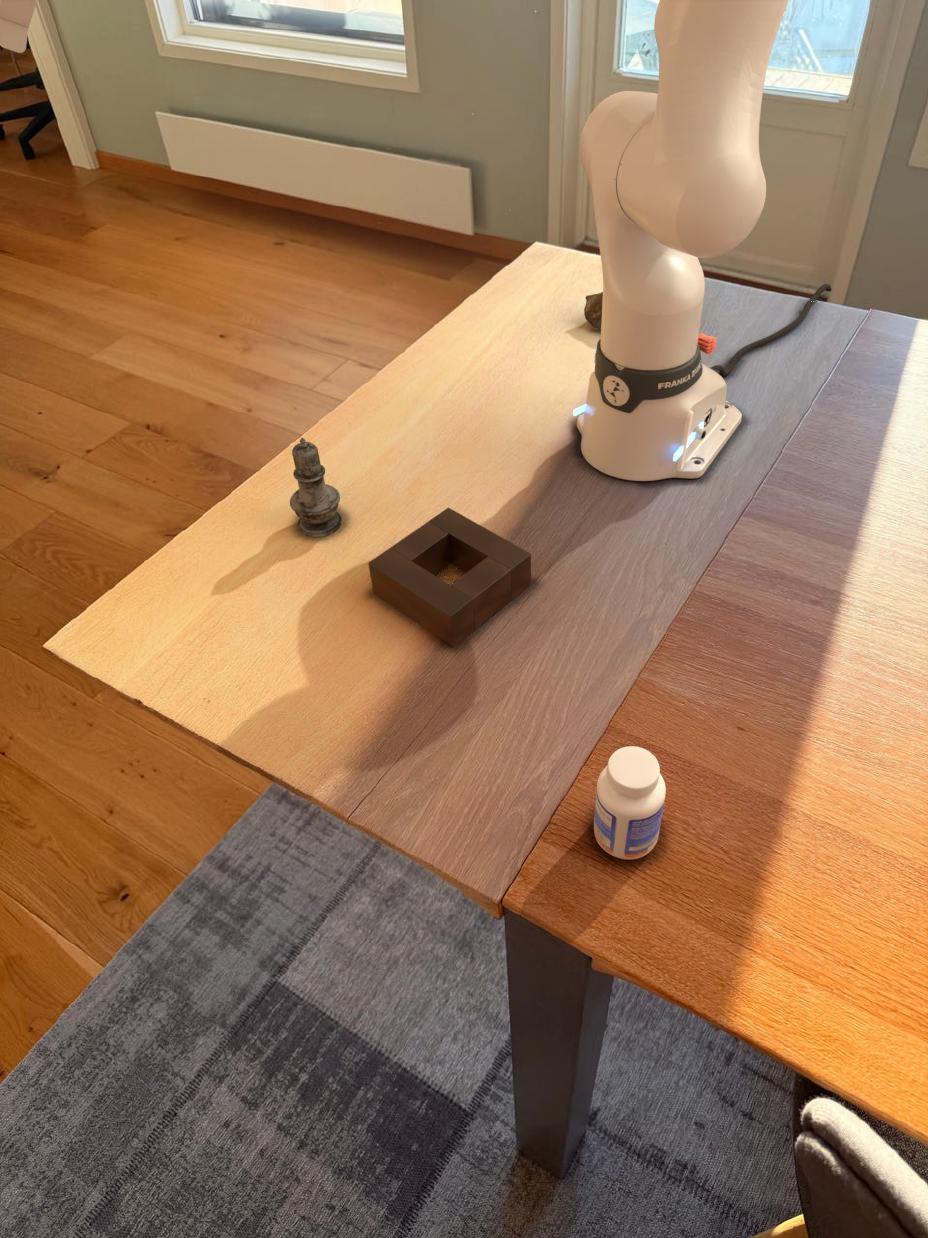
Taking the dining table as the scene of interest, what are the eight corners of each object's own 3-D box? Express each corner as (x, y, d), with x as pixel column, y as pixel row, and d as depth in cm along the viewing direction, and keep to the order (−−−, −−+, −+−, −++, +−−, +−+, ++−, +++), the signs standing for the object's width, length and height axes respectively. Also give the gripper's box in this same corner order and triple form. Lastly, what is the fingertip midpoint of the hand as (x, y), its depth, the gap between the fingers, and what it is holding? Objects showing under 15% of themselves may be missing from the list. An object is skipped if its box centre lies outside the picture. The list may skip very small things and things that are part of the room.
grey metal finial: (336, 540, 105) (319, 455, 97) (288, 536, 106) (267, 451, 98) (350, 509, 109) (335, 424, 101) (304, 505, 110) (285, 420, 102)
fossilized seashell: (651, 291, 139) (585, 302, 142) (649, 266, 133) (580, 277, 135) (654, 335, 138) (588, 345, 140) (652, 312, 131) (583, 322, 134)
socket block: (450, 537, 105) (448, 507, 101) (531, 584, 98) (531, 553, 95) (373, 593, 99) (367, 562, 96) (453, 647, 93) (450, 616, 89)
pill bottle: (663, 815, 78) (676, 746, 71) (651, 869, 74) (663, 803, 67) (600, 799, 79) (607, 730, 72) (586, 852, 75) (591, 785, 69)
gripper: (105, -162, 53) (69, 88, 61) (60, -199, 66) (35, 11, 74) (-15, -220, 50) (-37, 53, 57) (-38, -247, 62) (-54, -21, 70)
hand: (3, 29), depth 66 cm, fingers open, 8 cm apart
